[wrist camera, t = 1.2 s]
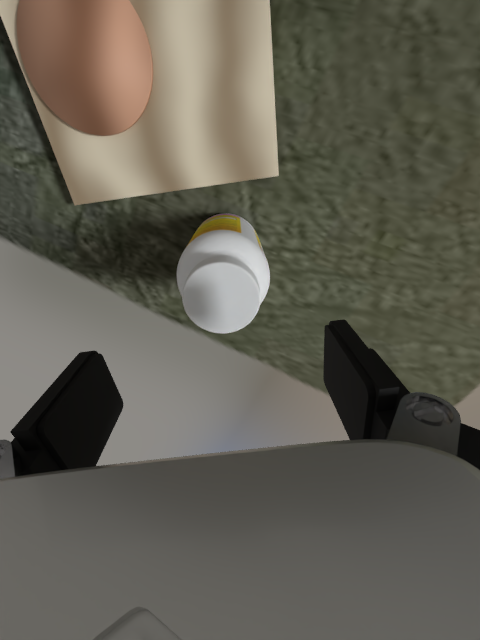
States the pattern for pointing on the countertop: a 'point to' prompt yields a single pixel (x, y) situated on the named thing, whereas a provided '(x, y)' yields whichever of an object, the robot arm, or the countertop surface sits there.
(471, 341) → the countertop surface
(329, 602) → the robot arm
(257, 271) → the supplement bottle
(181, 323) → the countertop surface
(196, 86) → the seat board
